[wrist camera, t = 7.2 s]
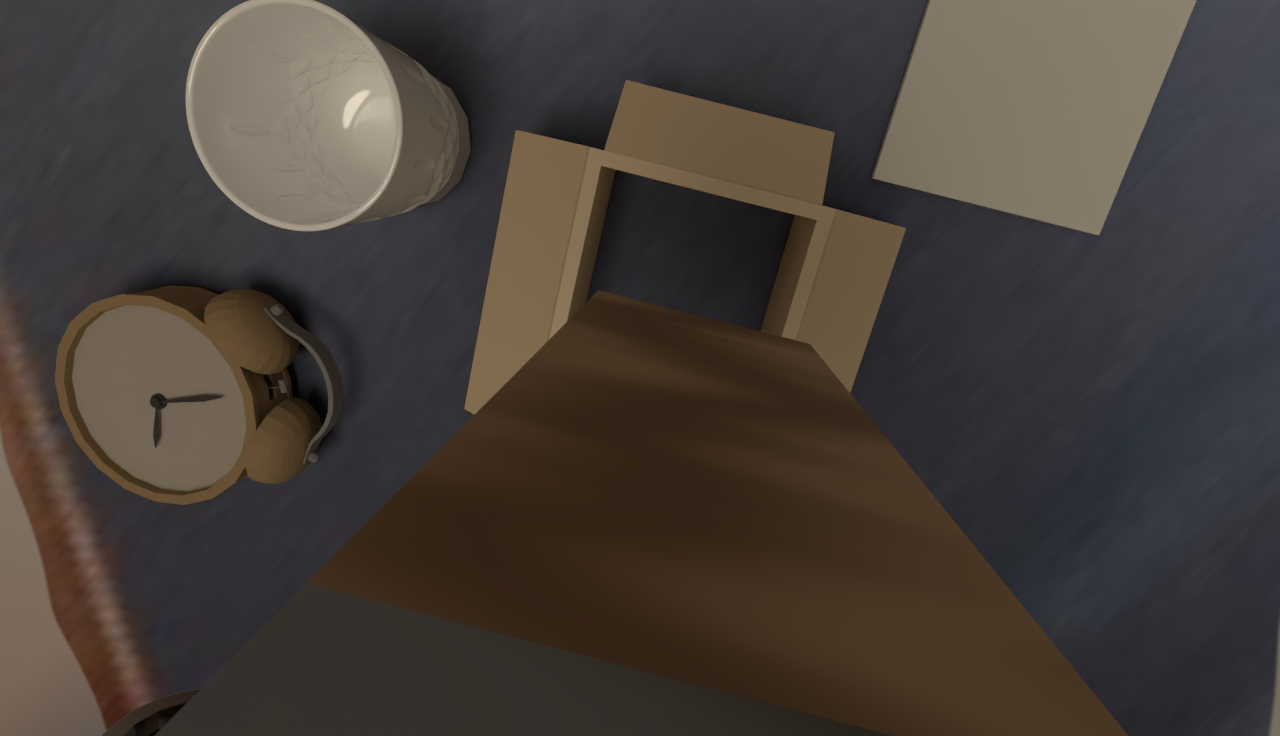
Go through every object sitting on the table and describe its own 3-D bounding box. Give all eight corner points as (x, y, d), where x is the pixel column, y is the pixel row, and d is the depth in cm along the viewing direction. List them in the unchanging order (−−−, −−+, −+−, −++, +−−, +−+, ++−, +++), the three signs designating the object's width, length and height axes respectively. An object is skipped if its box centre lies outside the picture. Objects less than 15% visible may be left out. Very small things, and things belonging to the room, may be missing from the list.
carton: (904, 161, 33) (952, 155, 27) (786, 518, 38) (804, 579, 32) (546, 70, 33) (514, 44, 27) (475, 439, 38) (436, 485, 32)
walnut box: (810, 343, 16) (1540, 1246, 2) (728, 604, 18) (854, 1999, 4) (598, 290, 16) (40, 847, 2) (537, 555, 18) (19, 1767, 4)
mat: (1196, -14, 30) (1203, -17, 30) (1094, 234, 33) (1099, 235, 32) (952, -76, 30) (955, -79, 30) (870, 178, 33) (873, 178, 33)
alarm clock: (20, 305, 35) (264, 279, 31) (114, 289, 39) (337, 265, 35) (90, 509, 37) (323, 509, 33) (170, 472, 42) (383, 469, 38)
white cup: (453, 244, 35) (364, 265, 25) (309, 181, 35) (162, 178, 25) (506, 92, 33) (431, 51, 23) (353, 24, 33) (213, -45, 23)
